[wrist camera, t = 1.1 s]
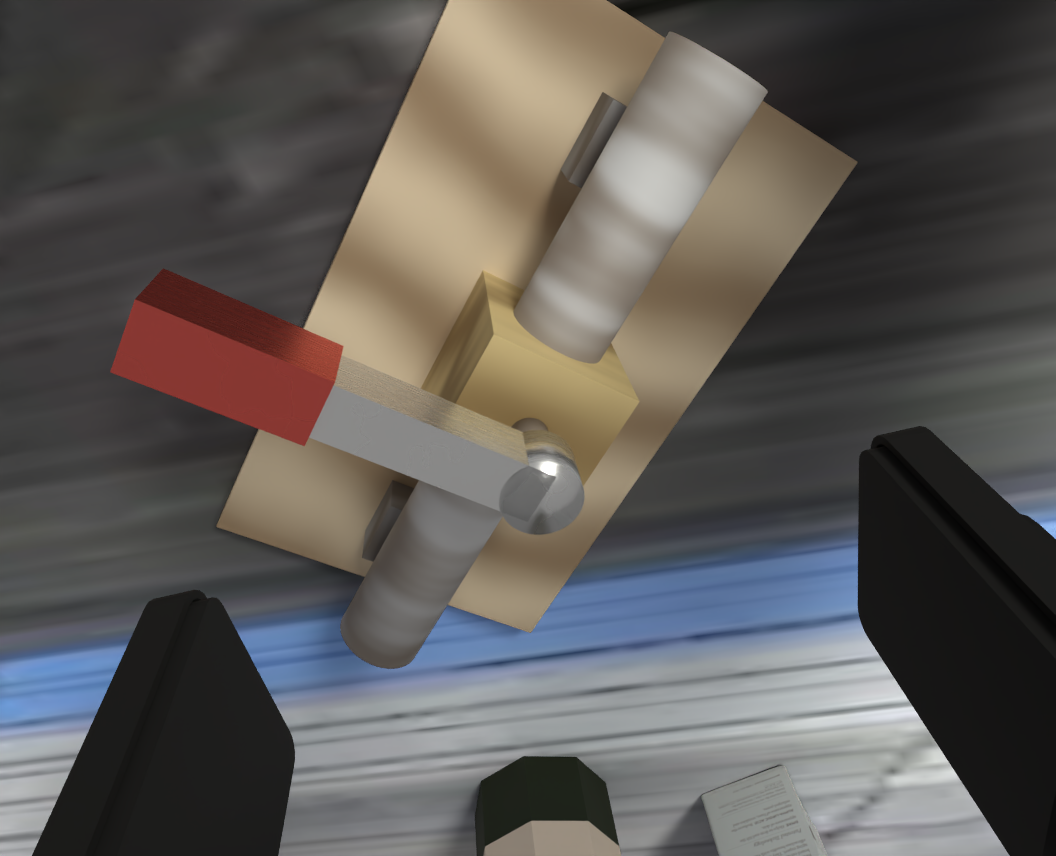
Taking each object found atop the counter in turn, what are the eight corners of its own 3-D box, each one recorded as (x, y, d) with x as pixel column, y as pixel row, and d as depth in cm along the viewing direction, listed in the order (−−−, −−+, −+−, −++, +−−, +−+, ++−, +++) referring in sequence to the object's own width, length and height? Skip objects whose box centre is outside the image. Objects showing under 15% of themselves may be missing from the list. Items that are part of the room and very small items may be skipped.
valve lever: (165, 262, 22) (137, 292, 20) (588, 444, 26) (601, 485, 24) (137, 341, 23) (107, 378, 21) (549, 505, 27) (558, 549, 25)
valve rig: (481, -76, 27) (503, -98, 19) (840, 154, 32) (982, 217, 24) (223, 507, 37) (164, 659, 29) (527, 612, 42) (550, 768, 34)
